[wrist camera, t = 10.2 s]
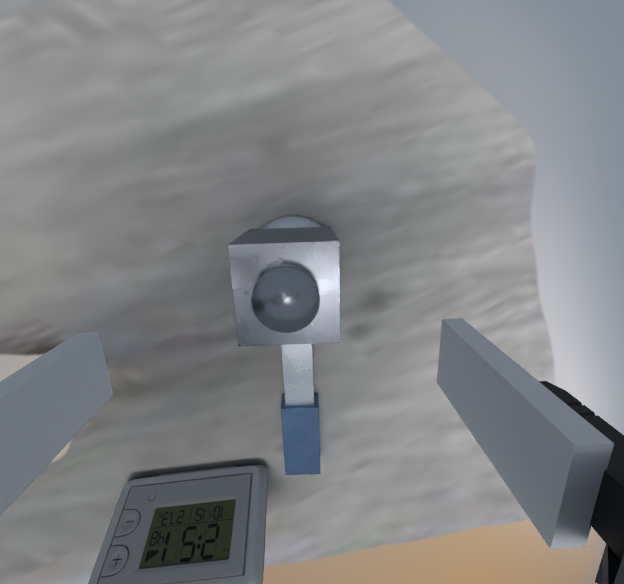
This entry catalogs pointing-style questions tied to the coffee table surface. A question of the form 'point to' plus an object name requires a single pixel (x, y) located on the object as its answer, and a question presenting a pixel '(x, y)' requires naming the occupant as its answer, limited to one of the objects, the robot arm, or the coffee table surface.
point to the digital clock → (188, 529)
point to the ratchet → (299, 391)
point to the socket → (286, 286)
